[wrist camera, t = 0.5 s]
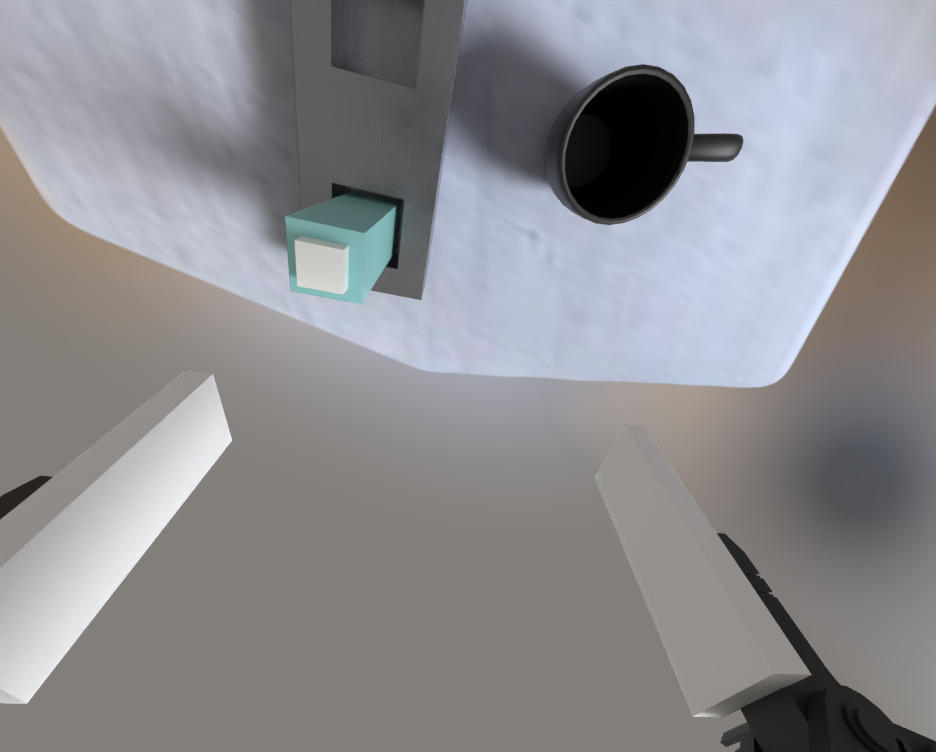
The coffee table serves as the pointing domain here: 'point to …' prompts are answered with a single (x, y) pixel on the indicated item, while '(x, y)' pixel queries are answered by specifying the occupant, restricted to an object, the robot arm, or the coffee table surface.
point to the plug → (342, 245)
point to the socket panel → (377, 112)
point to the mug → (627, 145)
